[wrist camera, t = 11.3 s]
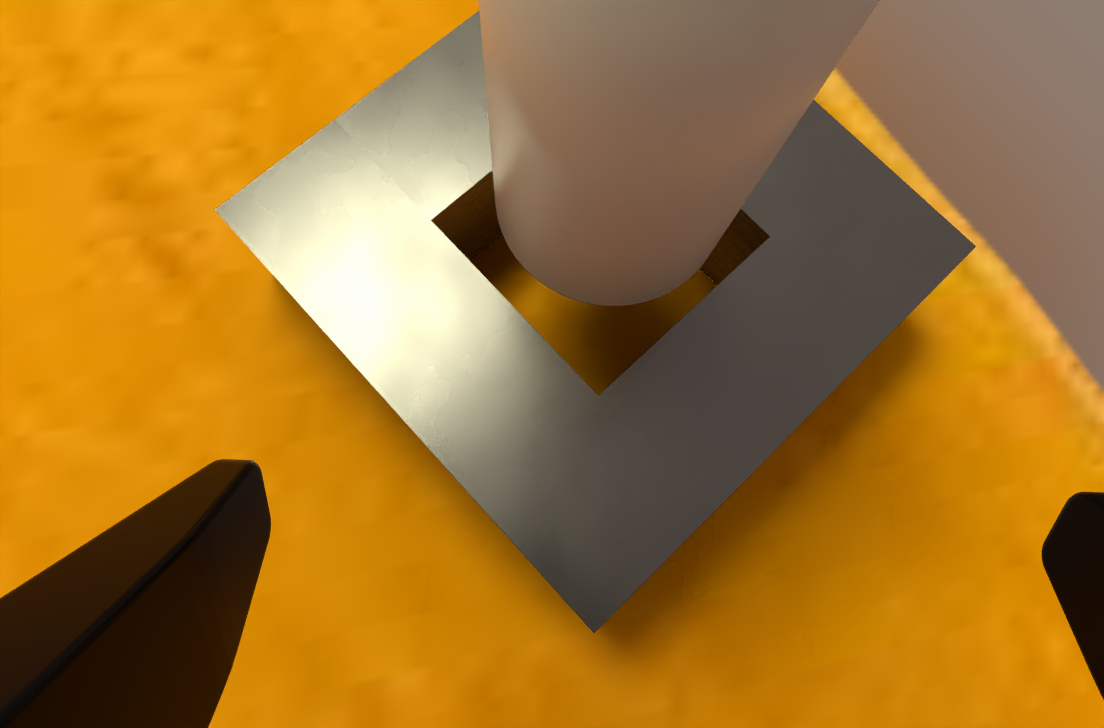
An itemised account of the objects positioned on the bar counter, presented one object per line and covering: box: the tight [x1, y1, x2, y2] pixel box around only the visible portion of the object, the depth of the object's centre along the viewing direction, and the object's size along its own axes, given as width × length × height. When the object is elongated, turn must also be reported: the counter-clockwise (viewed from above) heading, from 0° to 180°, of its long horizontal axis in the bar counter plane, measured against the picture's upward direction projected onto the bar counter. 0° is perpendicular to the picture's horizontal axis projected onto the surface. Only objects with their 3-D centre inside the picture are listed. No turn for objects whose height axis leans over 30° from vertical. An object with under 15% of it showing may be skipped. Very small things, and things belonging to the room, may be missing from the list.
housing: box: [215, 11, 976, 633], centre depth 19 cm, size 13×13×4 cm
